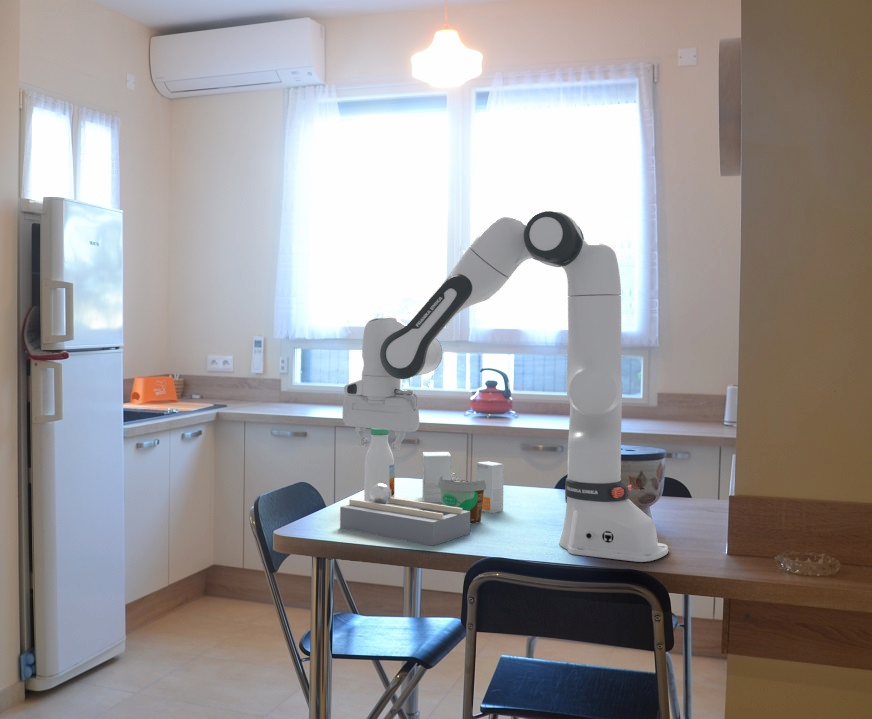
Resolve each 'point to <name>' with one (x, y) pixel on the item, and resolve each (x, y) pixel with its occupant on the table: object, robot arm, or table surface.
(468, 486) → the food container
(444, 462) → the supplement box
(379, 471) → the milk bottle
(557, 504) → the table surface
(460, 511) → the grey slotted tray
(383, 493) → the steel ball
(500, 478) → the skincare box
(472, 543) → the table surface
